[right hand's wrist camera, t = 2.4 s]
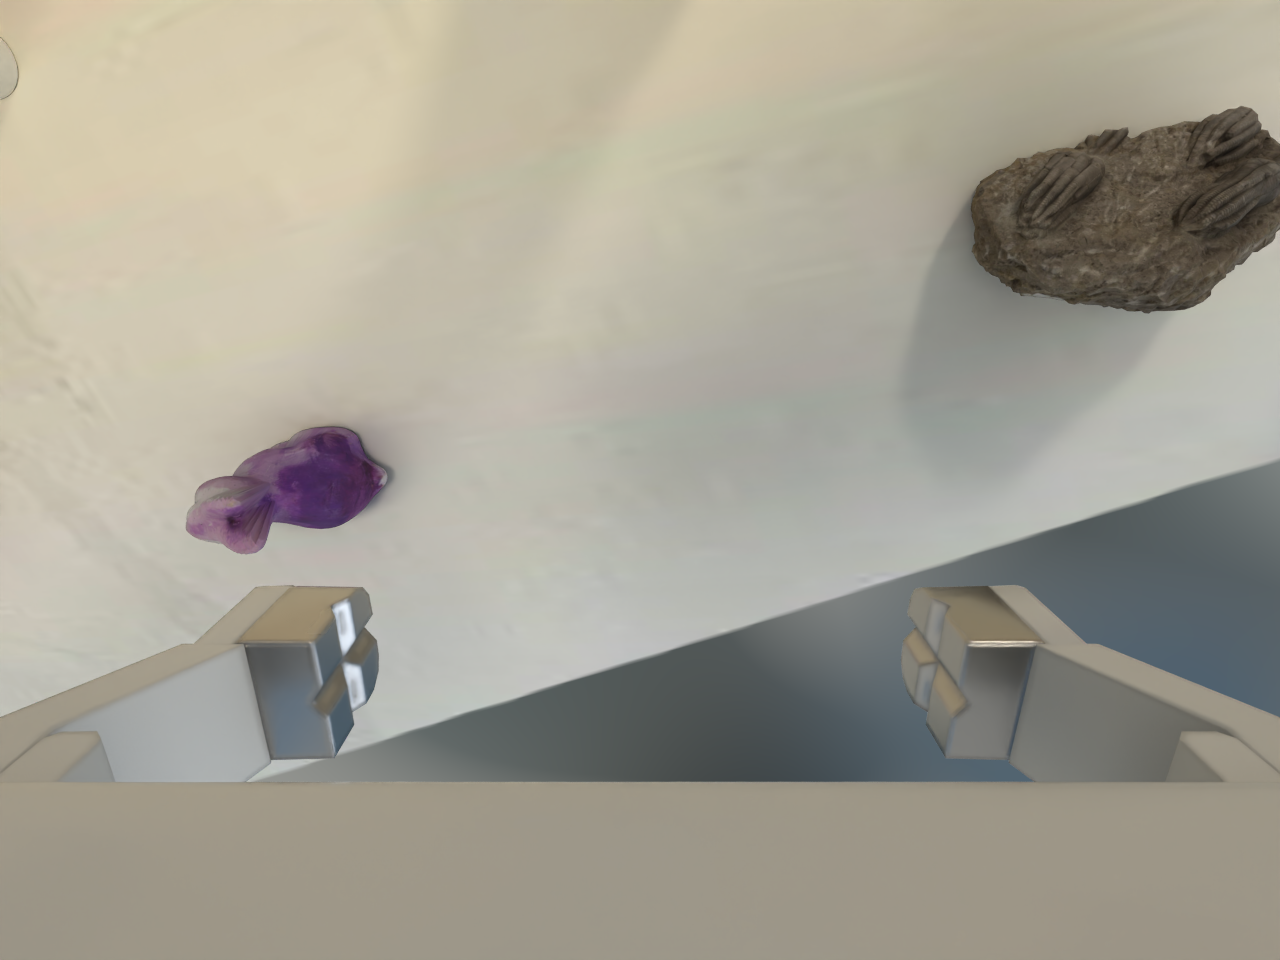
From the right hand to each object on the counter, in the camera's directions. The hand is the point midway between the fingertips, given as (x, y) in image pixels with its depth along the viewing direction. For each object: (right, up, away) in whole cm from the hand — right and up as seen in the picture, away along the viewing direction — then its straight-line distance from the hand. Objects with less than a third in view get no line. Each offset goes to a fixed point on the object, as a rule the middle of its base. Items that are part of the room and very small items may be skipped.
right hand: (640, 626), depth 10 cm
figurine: (-28, +3, +50) cm, 57 cm away
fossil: (+36, +23, +43) cm, 60 cm away
